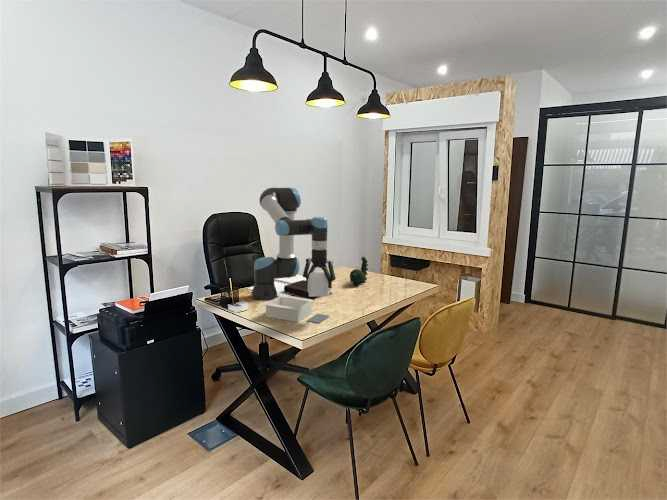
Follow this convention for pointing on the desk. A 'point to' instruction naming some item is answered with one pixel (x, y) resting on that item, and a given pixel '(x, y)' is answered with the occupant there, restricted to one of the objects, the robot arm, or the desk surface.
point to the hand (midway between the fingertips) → (318, 292)
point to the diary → (300, 289)
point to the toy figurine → (359, 273)
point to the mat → (318, 318)
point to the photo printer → (317, 284)
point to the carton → (289, 308)
